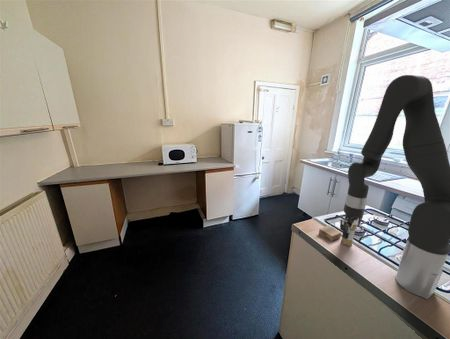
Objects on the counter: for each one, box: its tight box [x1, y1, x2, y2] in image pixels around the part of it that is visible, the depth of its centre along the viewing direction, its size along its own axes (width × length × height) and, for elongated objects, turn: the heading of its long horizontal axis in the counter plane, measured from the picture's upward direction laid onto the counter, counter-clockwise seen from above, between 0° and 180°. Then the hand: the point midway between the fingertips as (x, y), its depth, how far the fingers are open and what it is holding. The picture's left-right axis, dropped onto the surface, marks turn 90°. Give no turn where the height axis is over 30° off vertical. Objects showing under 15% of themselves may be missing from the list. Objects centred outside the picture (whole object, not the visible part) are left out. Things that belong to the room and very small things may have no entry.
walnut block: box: [318, 225, 342, 242], centre depth 92 cm, size 7×7×3 cm
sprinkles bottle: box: [341, 220, 357, 247], centre depth 85 cm, size 5×5×13 cm
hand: (348, 236), depth 86 cm, fingers closed on sprinkles bottle, 4 cm apart
